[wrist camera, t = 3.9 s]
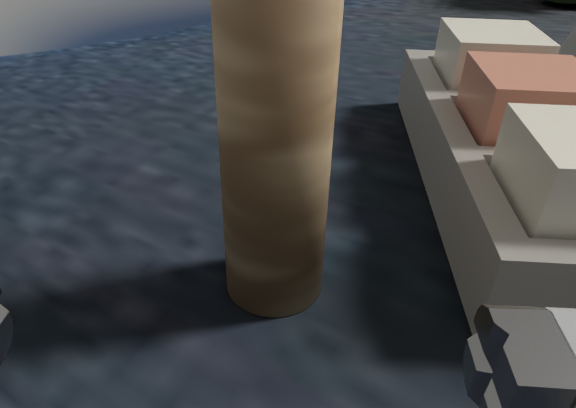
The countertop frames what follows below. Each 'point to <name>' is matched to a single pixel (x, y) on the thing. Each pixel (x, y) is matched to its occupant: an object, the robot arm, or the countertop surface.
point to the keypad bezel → (477, 205)
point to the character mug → (564, 1)
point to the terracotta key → (511, 87)
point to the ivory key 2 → (539, 167)
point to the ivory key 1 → (484, 43)
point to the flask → (569, 44)
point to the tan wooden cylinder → (275, 145)
